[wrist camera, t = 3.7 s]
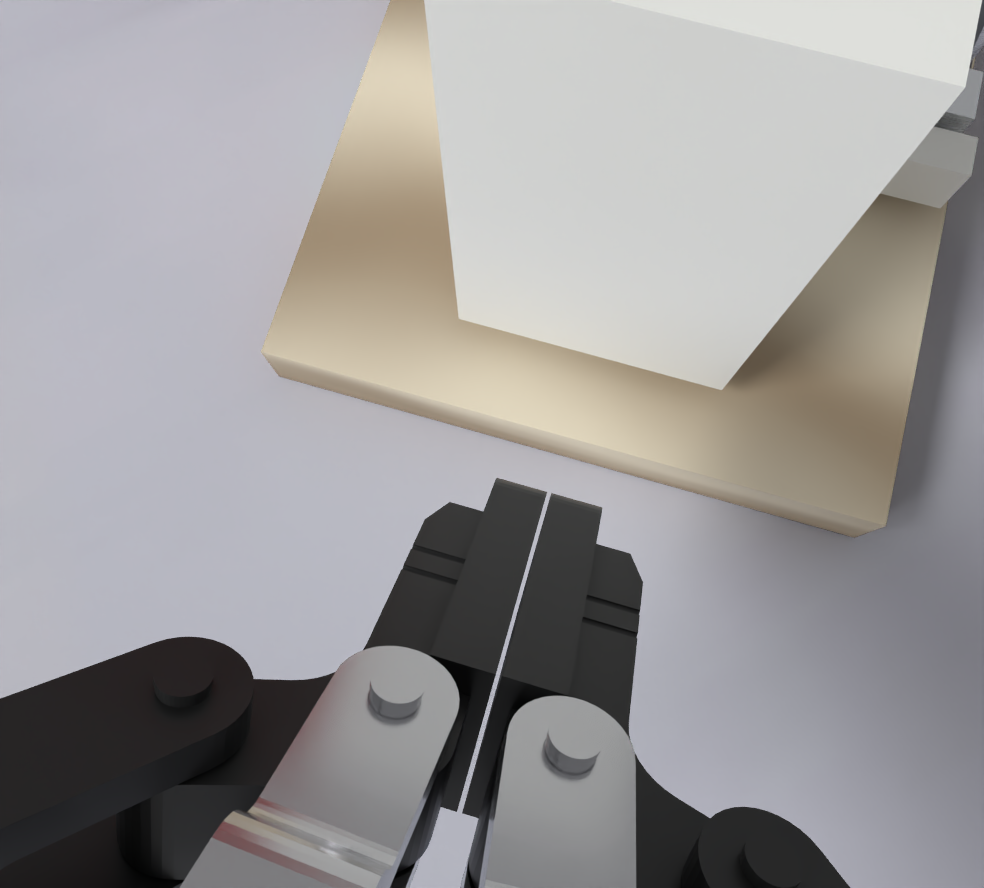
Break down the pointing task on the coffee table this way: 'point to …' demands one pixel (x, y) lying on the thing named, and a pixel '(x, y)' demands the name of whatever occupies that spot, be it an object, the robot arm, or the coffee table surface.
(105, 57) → the coffee table surface
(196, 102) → the coffee table surface
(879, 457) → the gauge stand
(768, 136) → the block
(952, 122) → the grey metal lever
